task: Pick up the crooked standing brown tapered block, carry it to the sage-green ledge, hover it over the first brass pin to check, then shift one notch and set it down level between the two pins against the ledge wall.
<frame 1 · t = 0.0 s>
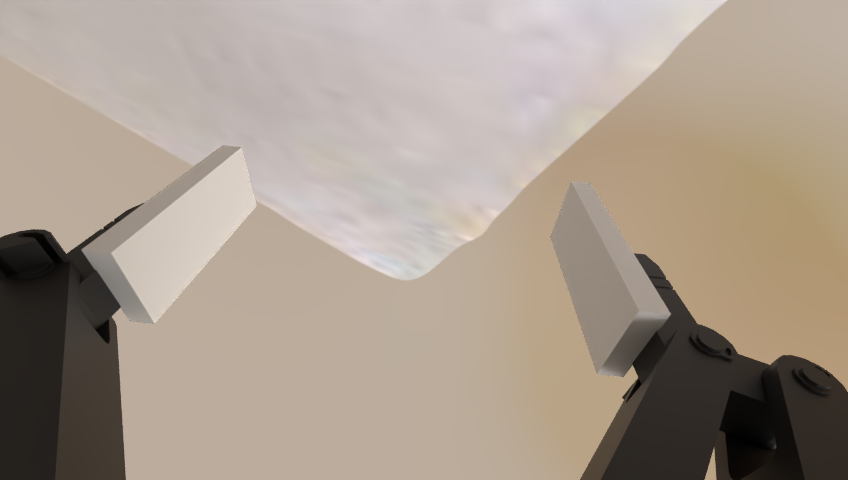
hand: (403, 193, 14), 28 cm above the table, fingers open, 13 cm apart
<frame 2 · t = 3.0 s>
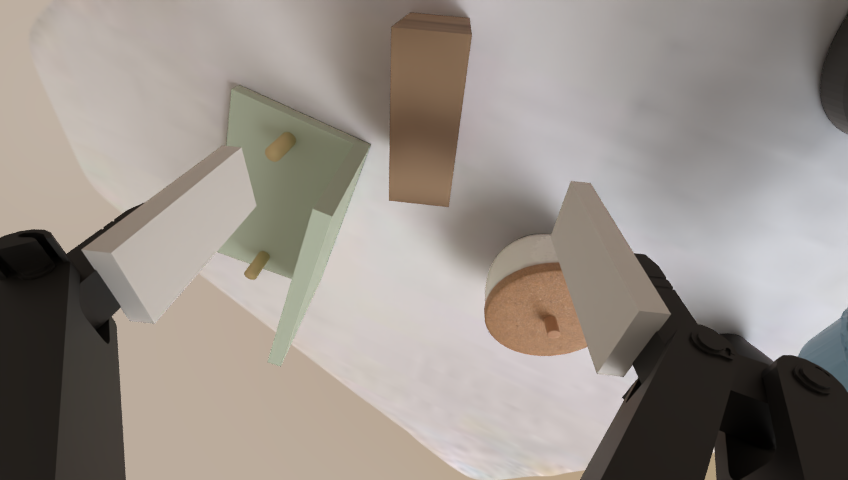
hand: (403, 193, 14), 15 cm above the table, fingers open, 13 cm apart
mug: (698, 350, 42), on the table
ledge: (287, 200, 34), on the table
brown tapered block: (433, 92, 27), on the table
lidded jar: (534, 257, 36), on the table
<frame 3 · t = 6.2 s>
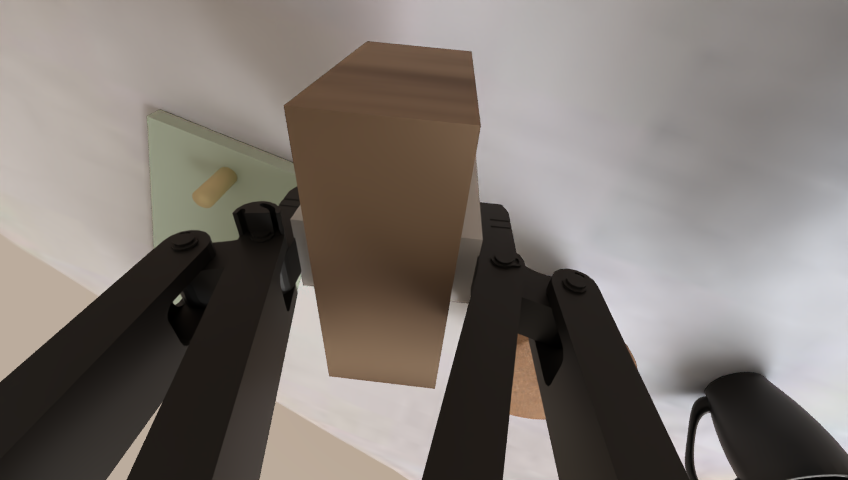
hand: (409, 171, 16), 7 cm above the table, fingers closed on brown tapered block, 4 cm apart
mug: (712, 388, 38), on the table
ledge: (236, 243, 28), on the table
brown tapered block: (412, 166, 16), point 6 cm above the table, touching gripper
lidded jar: (532, 298, 31), on the table
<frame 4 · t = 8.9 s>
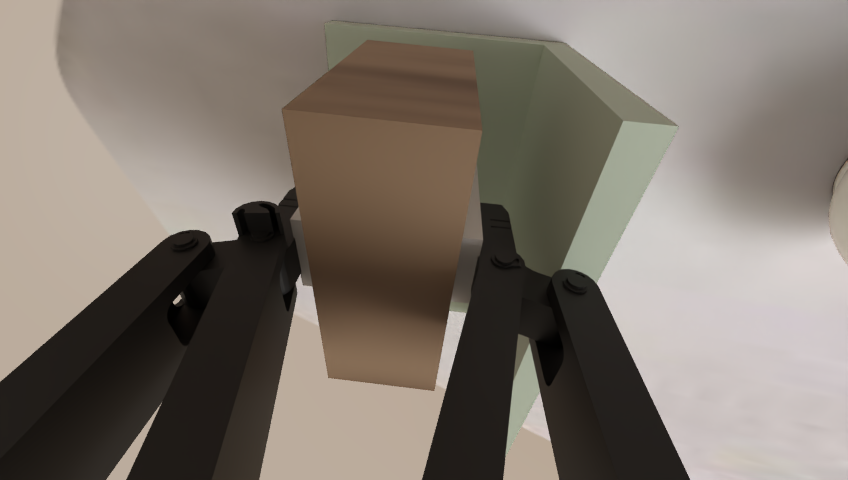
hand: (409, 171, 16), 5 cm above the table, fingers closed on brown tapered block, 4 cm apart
ledge: (431, 196, 22), on the table
brown tapered block: (412, 166, 16), point 4 cm above the table, touching gripper, ledge
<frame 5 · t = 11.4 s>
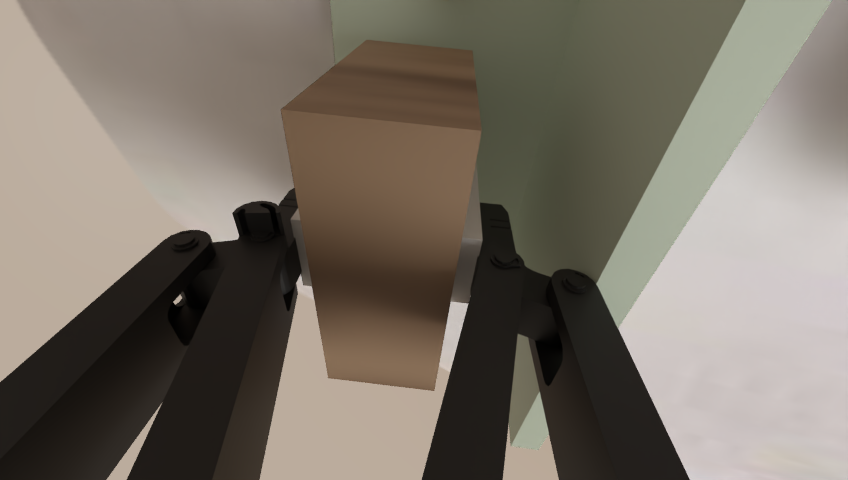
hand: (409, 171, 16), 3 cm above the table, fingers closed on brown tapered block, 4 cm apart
ledge: (449, 140, 19), on the table
brown tapered block: (412, 166, 16), point 3 cm above the table, touching gripper
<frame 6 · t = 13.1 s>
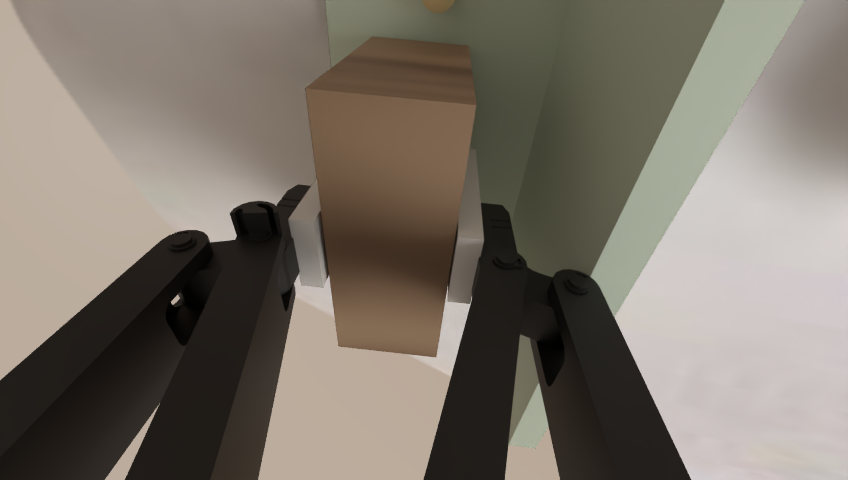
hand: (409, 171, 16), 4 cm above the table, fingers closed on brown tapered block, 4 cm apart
ledge: (443, 146, 19), on the table
brown tapered block: (413, 154, 18), point 2 cm above the table, touching gripper
when the fingers open (4 cm above the table, at t = 13.1 s): brown tapered block stays where it is, resting on ledge.
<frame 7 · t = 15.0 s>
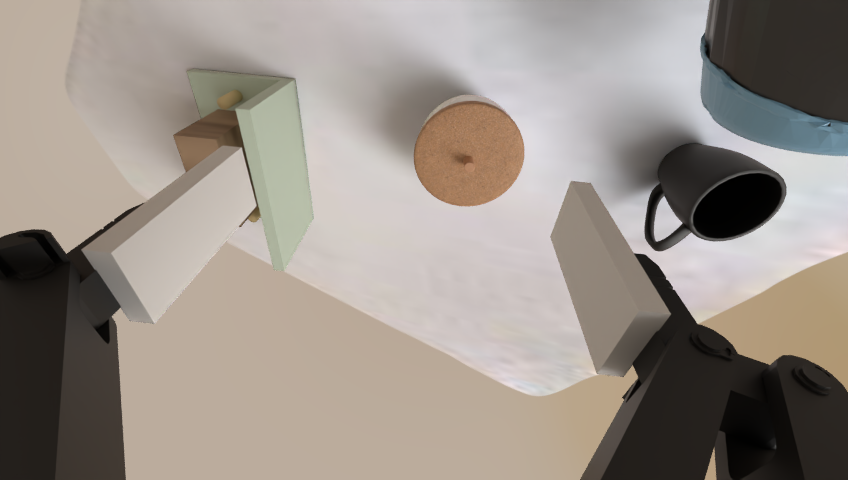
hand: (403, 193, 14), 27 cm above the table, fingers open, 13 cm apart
mug: (666, 175, 43), on the table
ledge: (261, 152, 43), on the table
brown tapered block: (245, 153, 42), point 1 cm above the table, touching ledge
lidded jar: (465, 131, 41), on the table
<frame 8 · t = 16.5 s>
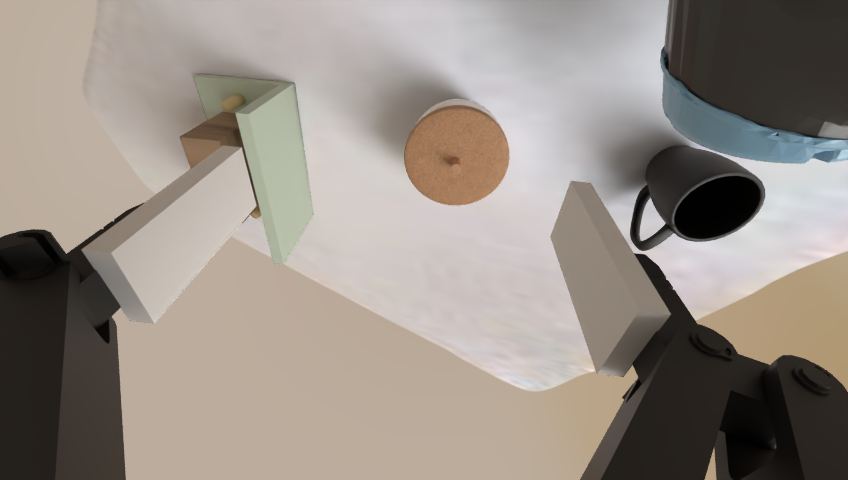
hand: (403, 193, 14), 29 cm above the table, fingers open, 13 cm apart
mug: (654, 176, 44), on the table
ledge: (263, 152, 46), on the table
brown tapered block: (248, 153, 44), point 1 cm above the table, touching ledge
lidded jar: (456, 133, 42), on the table
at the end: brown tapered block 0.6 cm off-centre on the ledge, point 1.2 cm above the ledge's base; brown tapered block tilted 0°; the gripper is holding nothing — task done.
